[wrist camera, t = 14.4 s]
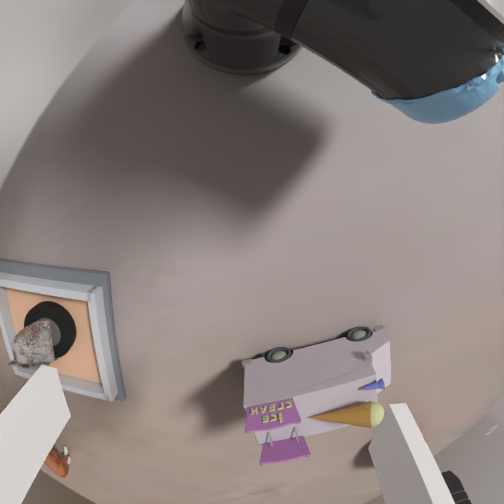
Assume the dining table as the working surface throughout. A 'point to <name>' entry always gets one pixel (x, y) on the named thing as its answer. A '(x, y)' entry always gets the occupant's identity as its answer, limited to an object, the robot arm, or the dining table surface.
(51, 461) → the bull figurine
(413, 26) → the robot arm
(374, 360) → the toy vehicle
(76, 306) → the tray
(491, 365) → the dining table surface
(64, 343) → the caster wheel
